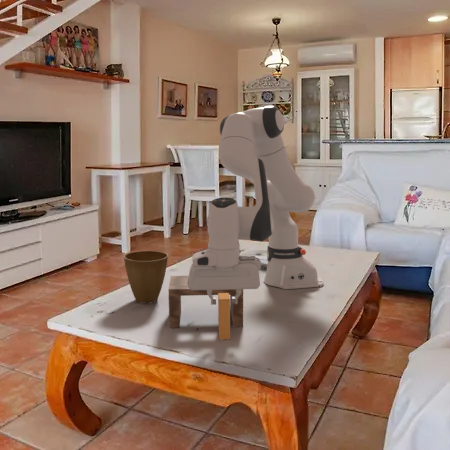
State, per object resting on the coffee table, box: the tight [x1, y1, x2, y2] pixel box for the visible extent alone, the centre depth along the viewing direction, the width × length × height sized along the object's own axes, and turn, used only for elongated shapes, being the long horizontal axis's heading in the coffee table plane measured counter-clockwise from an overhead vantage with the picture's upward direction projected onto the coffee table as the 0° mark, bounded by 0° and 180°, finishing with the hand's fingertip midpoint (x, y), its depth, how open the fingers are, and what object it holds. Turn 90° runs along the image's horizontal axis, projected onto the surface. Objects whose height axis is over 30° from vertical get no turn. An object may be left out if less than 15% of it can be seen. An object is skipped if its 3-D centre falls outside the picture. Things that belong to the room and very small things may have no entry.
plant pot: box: [123, 250, 169, 304], centre depth 177 cm, size 15×15×16 cm
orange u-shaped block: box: [217, 293, 231, 340], centre depth 147 cm, size 7×3×11 cm, turn 3°
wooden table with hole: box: [168, 275, 244, 329], centre depth 159 cm, size 22×14×14 cm, turn 93°
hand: (224, 303), depth 146 cm, fingers open, 5 cm apart
